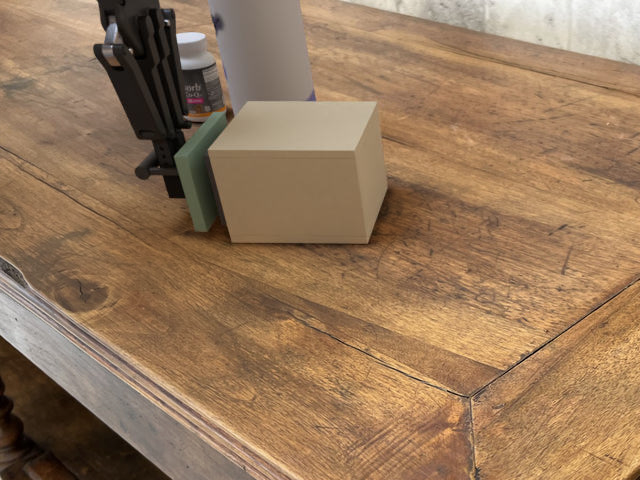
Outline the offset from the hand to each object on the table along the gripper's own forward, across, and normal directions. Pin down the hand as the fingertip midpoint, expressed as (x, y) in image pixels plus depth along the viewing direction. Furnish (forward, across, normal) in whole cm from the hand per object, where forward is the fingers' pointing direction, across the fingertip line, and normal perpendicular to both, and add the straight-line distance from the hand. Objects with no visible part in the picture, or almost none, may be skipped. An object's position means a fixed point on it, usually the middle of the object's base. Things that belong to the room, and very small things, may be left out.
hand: (184, 195), depth 83 cm
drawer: (+1, 0, -6) cm, 6 cm away
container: (+2, +21, -4) cm, 22 cm away
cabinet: (+2, 0, -13) cm, 13 cm away
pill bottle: (+2, +28, +8) cm, 29 cm away
